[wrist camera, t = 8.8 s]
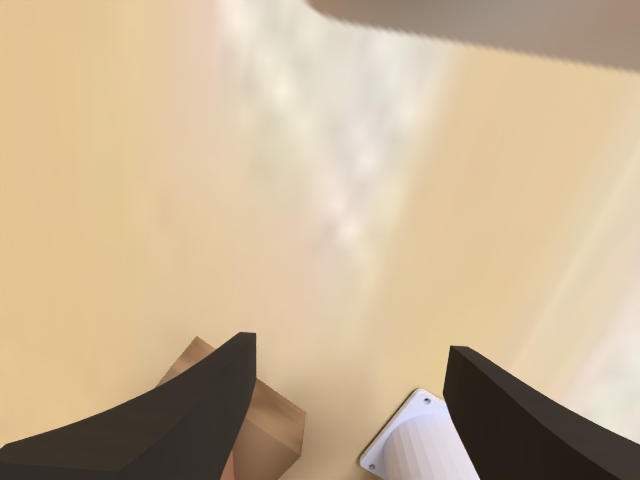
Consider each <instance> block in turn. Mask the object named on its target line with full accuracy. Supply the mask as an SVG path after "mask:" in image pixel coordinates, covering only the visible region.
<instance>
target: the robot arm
mask: <svg viewBox="0 0 640 480" xmlns="http://www.w3.org/2000/svg"><path fill="white" fill-rule="evenodd" d="M255 383H256V333H247V332H239V333H238V334H236V335H235V336H234V337H232V338H231V339H230V340H228V341H227V342H226V343H224V344H223V345H222V346H220V347H219V348H218V349H216V350H215V351H213V352H212V353H211V354H209V355H208V356H207V357H205V358H204V359H202V360H201V361H199V362H198V363H196V364H195V365H193V366H192V367H190V368H188V369H187V370H185V371H184V372H182V373H181V374H179V375H178V376H176V377H174V378H173V379H171V380H169V381H167V382H166V383H164V384H162V385H160V386H158V387H156V388H154V389H152V390H151V391H149V392H147V393H145V394H142V395H140V396H138V397H136V398H134V399H132V400H129V401H127V402H125V403H123V404H121V405H118V406H116V407H114V408H112V409H109V410H107V411H104V412H102V413H99V414H97V415H94V416H92V417H89V418H86V419H83V420H81V421H78V422H75V423H72V424H70V425H67V426H64V427H61V428H58V429H55V430H51V431H48V432H45V433H42V434H38V435H35V436H32V437H29V438H25V439H22V440H19V441H15V442H12V443H8V444H6V445H4V446H3V447H2V448H1V449H0V480H220V479H221V476H222V473H223V470H224V468H225V465H226V463H227V461H228V458H229V456H230V453H231V451H232V448H233V446H234V443H235V441H236V438H237V436H238V434H239V431H240V429H241V426H242V424H243V421H244V419H245V416H246V414H247V411H248V409H249V406H250V402H251V398H252V395H253V391H254V387H255ZM443 396H444V399H445V402H444V401H443V400H441V399H439V398H437V397H436V396H434V395H432V394H431V393H429V392H427V391H425V390H423V389H417V390H415V391H414V392H413V393H412V395H411V396H410V397H409V398H408V400H407V401H406V402H405V403H404V404H403V406H402V407H401V408H400V409H399V410H398V412H397V413H396V414H395V415H394V417H393V418H392V419H391V420H390V421H389V423H388V424H387V425H386V426H385V428H384V429H383V430H382V431H381V432H380V434H379V435H378V436H377V437H376V439H375V440H374V441H373V442H372V443H371V445H370V446H369V447H368V448H367V450H366V451H365V452H364V453H363V454H362V456H361V457H360V466H361V467H362V468H364V469H366V470H368V471H369V472H371V473H373V474H375V475H377V476H379V477H380V478H382V479H384V480H640V444H638V443H635V442H633V441H631V440H629V439H627V438H624V437H622V436H620V435H618V434H616V433H614V432H612V431H610V430H608V429H605V428H603V427H601V426H599V425H597V424H595V423H593V422H592V421H590V420H588V419H586V418H584V417H582V416H580V415H578V414H576V413H575V412H573V411H571V410H569V409H567V408H565V407H564V406H562V405H560V404H558V403H556V402H555V401H553V400H551V399H550V398H548V397H546V396H545V395H543V394H541V393H540V392H538V391H536V390H535V389H533V388H532V387H530V386H528V385H527V384H525V383H524V382H522V381H520V380H519V379H517V378H516V377H514V376H513V375H511V374H510V373H508V372H507V371H505V370H504V369H502V368H501V367H499V366H498V365H496V364H495V363H493V362H492V361H490V360H489V359H487V358H486V357H484V356H482V355H481V354H479V353H478V352H476V351H474V350H473V349H471V348H469V347H465V346H450V351H449V358H448V364H447V370H446V376H445V383H444V389H443ZM426 398H428V400H426V401H424V399H426ZM371 464H373V465H371Z"/></svg>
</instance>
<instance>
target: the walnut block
mask: <svg viewBox="0 0 640 480" xmlns="http://www.w3.org/2000/svg"><path fill="white" fill-rule="evenodd" d="M215 350H216V349H215V348H213V347H212V346H210V345H209V344H207V343H206V342H205V341H203V340H202V339H200V338H199V337H198V336H197V337H196V338H195V339H194V340H193V341H192V343H191V344H190V345H189V346H188V348H187V349H186V350H185V351H184V352H183V354H182V355H181V356H180V357H179V358H178V360H177V361H176V362H175V363H174V364H173V366H172V367H171V368H170V369H169V371H168V372H167V373H166V375H165V376H164V377H163V378H162V380H161V381H160V382H159V384H158V385H157V386H156V387H158V386H160V385H162V384H164V383H166V382H167V381H169V380H171V379H173V378H174V377H176V376H178V375H179V374H181V373H182V372H184V371H185V370H187V369H188V368H190V367H192V366H193V365H195V364H196V363H198V362H199V361H201V360H202V359H204V358H205V357H207V356H208V355H209V354H211V353H212V352H213V351H215ZM156 387H155V388H156ZM305 414H306V412H304V411H303V410H301V409H300V408H299V407H297V406H296V405H294V404H293V403H291V402H290V401H289V400H287V399H286V398H284V397H283V396H281V395H280V394H279V393H277V392H276V391H274V390H273V389H271V388H270V387H269V386H267V385H266V384H264V383H263V382H262V381H260V380H259V379H257V378H256V383H255V387H254V391H253V395H252V398H251V402H250V406H249V409H248V411H247V414H246V416H245V419H244V421H243V424H242V426H241V429H240V431H239V434H238V436H237V438H236V441H235V443H234V446H233V448H232V452H233V465H234V477H235V480H277V479H278V478H279V477H280V476H281V475H282V474H283V473H284V472H285V471H286V470H287V469H288V468H289V467H290V466H291V465H292V464H293V463H294V462H295V461H296V460H297V459H298V458H299V457H300V456H301V450H302V441H303V432H304V423H305Z"/></svg>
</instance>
